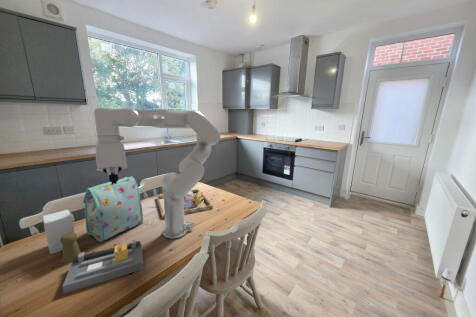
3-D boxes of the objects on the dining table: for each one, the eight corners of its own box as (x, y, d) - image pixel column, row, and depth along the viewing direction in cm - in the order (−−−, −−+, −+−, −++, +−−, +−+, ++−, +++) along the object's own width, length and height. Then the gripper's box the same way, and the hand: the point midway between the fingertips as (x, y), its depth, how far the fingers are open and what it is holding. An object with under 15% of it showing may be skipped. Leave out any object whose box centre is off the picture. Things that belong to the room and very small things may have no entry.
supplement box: (77, 245, 88) (72, 215, 85) (50, 255, 81) (43, 223, 78) (73, 237, 94) (68, 208, 91) (48, 245, 87) (41, 215, 84)
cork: (79, 251, 84) (75, 228, 82) (83, 257, 80) (79, 234, 78) (61, 258, 80) (56, 234, 77) (64, 265, 76) (59, 241, 74)
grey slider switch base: (142, 248, 87) (141, 238, 85) (143, 268, 75) (142, 256, 74) (74, 266, 75) (72, 254, 74) (63, 294, 64) (61, 280, 63)
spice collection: (208, 196, 147) (208, 185, 145) (200, 211, 124) (200, 197, 122) (177, 194, 149) (177, 183, 147) (163, 208, 126) (162, 195, 124)
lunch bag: (129, 215, 115) (125, 172, 110) (146, 223, 107) (142, 177, 102) (84, 234, 96) (76, 183, 90) (100, 245, 88) (93, 190, 82)
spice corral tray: (198, 192, 153) (198, 189, 152) (212, 209, 125) (212, 205, 124) (156, 199, 138) (156, 195, 137) (162, 220, 110) (162, 215, 110)
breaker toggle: (127, 254, 78) (126, 241, 77) (127, 260, 75) (126, 247, 74) (116, 257, 76) (114, 244, 75) (115, 263, 73) (114, 250, 72)
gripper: (130, 138, 83) (134, 178, 87) (87, 139, 76) (94, 182, 80) (130, 140, 77) (134, 183, 81) (83, 141, 70) (90, 188, 74)
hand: (114, 183), depth 80 cm, fingers closed
